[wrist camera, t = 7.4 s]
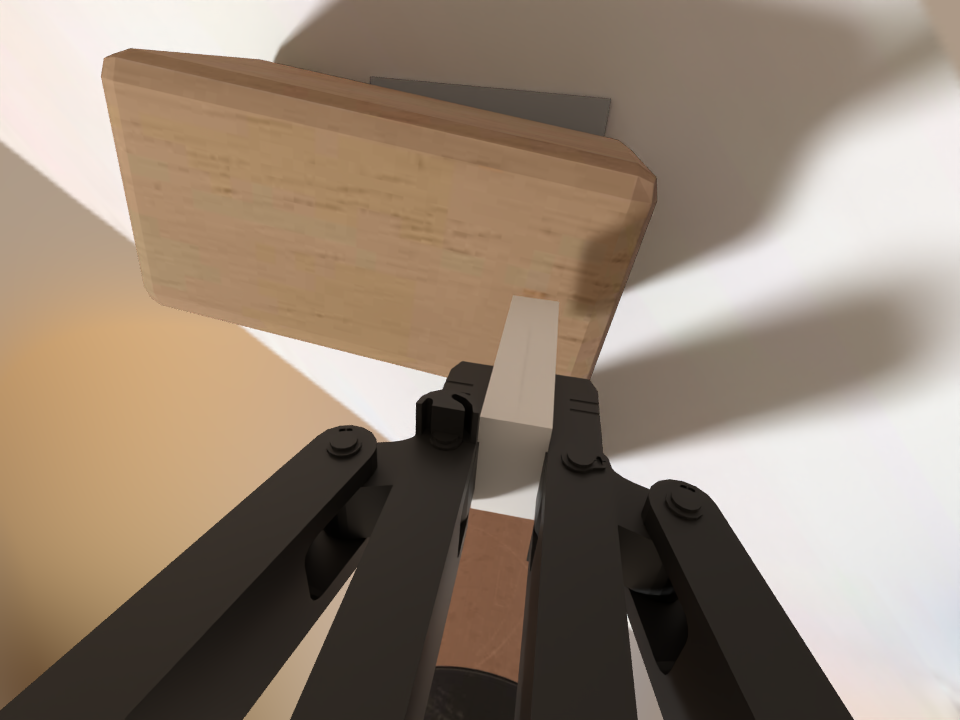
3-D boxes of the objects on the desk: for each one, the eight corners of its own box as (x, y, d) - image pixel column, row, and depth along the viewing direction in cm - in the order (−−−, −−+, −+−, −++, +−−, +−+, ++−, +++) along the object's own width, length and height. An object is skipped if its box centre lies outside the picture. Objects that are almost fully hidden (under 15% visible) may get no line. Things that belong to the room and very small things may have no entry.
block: (636, 142, 23) (252, 56, 24) (674, 175, 15) (78, 39, 16) (577, 320, 28) (263, 243, 29) (579, 420, 20) (137, 308, 21)
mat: (610, 98, 23) (611, 98, 22) (559, 363, 30) (559, 365, 30) (372, 76, 24) (369, 76, 24) (381, 336, 32) (379, 338, 31)
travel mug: (452, 459, 36) (345, 792, 19) (483, 382, 32) (383, 717, 15) (545, 493, 36) (522, 854, 19) (588, 421, 32) (606, 796, 15)
